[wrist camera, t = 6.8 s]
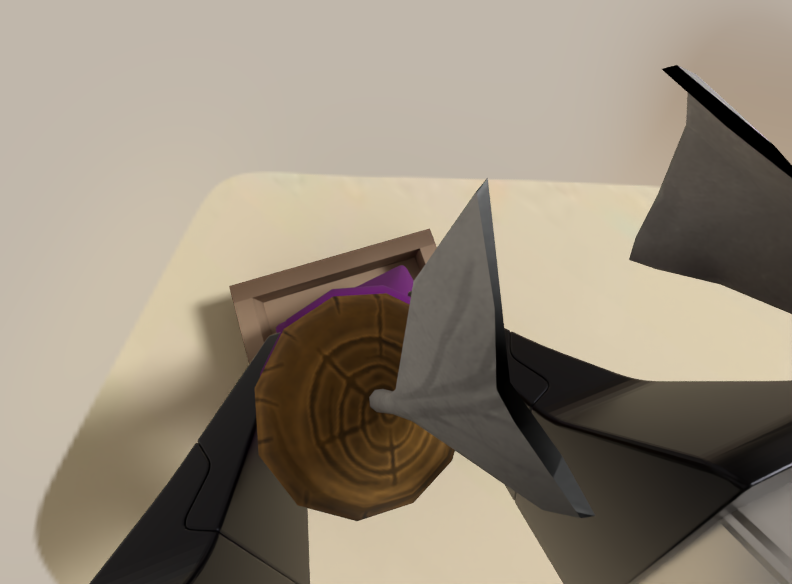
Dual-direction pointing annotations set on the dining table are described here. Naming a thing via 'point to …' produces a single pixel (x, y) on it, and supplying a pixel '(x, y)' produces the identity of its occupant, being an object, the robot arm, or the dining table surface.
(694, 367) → the dining table surface
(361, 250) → the wooden tray
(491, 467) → the perfume bottle
